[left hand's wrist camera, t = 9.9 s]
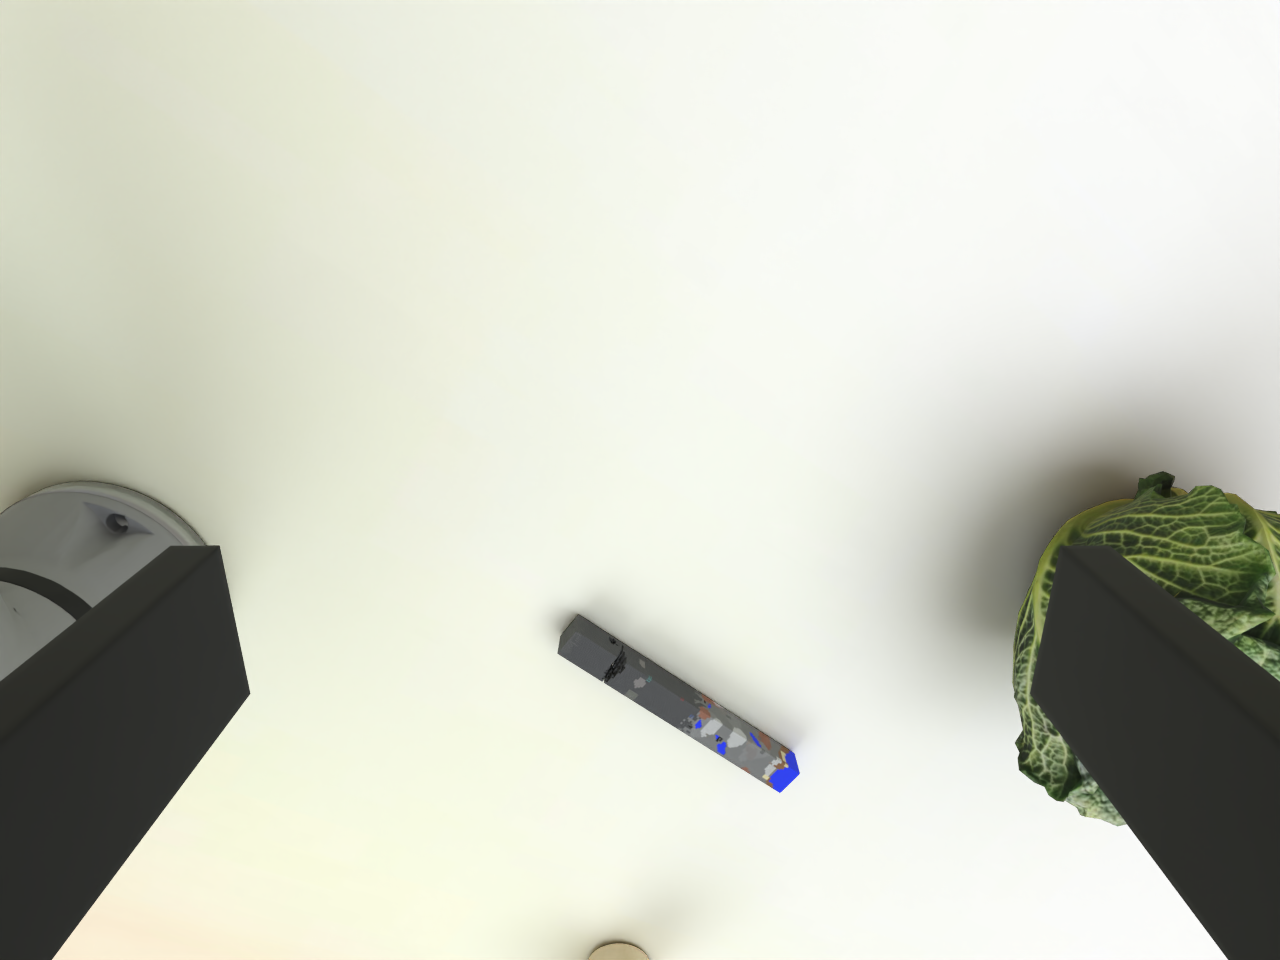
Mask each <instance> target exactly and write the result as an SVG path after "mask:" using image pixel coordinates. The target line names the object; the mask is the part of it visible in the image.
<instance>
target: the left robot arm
mask: <svg viewBox="0 0 1280 960" xmlns="http://www.w3.org/2000/svg"><path fill="white" fill-rule="evenodd" d="M249 695H250V690H249V685H248V680H247V676H246V671H245V666H244V661H243V656H242V652H241V647H240V642H239V637H238V632H237V627H236V623H235V618H234V613H233V608H232V603H231V599H230V594H229V589H228V584H227V579H226V574H225V570H224V565H223V560H222V555H221V550H220V546H206V545H205V544H204V543H203V541H202V540H201V539H200V537H199V536H198V535H197V534H196V533H195V532H194V530H193V529H192V528H191V527H190V526H189V525H188V524H187V523H186V522H184V521H183V520H182V519H181V518H180V517H179V516H177V515H176V514H175V513H173V512H172V511H171V510H169V509H168V508H166V507H165V506H163V505H162V504H160V503H158V502H157V501H155V500H153V499H151V498H149V497H147V496H145V495H143V494H140V493H138V492H135V491H133V490H130V489H127V488H124V487H120V486H116V485H112V484H106V483H100V482H87V481H85V482H69V483H62V484H58V485H53V486H50V487H47V488H44V489H42V490H40V491H38V492H36V493H34V494H32V495H30V496H28V497H26V498H24V499H22V500H20V501H18V502H17V503H15V504H13V505H12V506H10V507H9V508H7V509H6V510H5V511H3V512H2V513H1V514H0V960H52V959H53V957H54V956H55V955H56V953H57V952H58V951H59V949H60V948H61V947H62V945H63V944H64V943H65V941H66V940H67V939H68V937H69V936H70V935H71V933H72V932H73V931H74V929H75V928H76V927H77V925H78V924H79V923H80V921H81V920H82V919H83V917H84V916H85V914H86V913H87V912H88V910H89V909H90V908H91V906H92V905H93V904H94V902H95V901H96V900H97V898H98V897H99V896H100V894H101V893H102V892H103V890H104V889H105V888H106V886H107V885H108V884H109V882H110V881H111V880H112V878H113V877H114V876H115V874H116V873H117V872H118V870H119V869H120V868H121V866H122V865H123V864H124V862H125V861H126V860H127V858H128V857H129V856H130V854H131V853H132V851H133V850H134V849H135V847H136V846H137V845H138V843H139V842H140V841H141V839H142V838H143V837H144V835H145V834H146V833H147V831H148V830H149V829H150V827H151V826H152V825H153V823H154V822H155V821H156V819H157V818H158V817H159V815H160V814H161V813H162V811H163V810H164V809H165V807H166V806H167V805H168V803H169V802H170V801H171V799H172V798H173V797H174V795H175V794H176V793H177V791H178V790H179V789H180V787H181V786H182V784H183V783H184V782H185V780H186V779H187V778H188V776H189V775H190V774H191V772H192V771H193V770H194V768H195V767H196V766H197V764H198V763H199V762H200V760H201V759H202V758H203V756H204V755H205V754H206V752H207V751H208V750H209V748H210V747H211V746H212V744H213V743H214V742H215V740H216V739H217V738H218V736H219V735H220V734H221V732H222V731H223V730H224V728H225V727H226V726H227V724H228V723H229V722H230V720H231V719H232V717H233V716H234V715H235V713H236V712H237V711H238V709H239V708H240V707H241V705H242V704H243V703H244V701H245V700H246V699H247V697H248V696H249ZM1030 695H1031V696H1032V697H1033V699H1034V700H1035V701H1036V703H1037V704H1038V705H1039V707H1040V708H1041V709H1042V711H1043V712H1044V713H1045V715H1046V716H1047V717H1048V719H1049V720H1050V722H1051V723H1052V724H1053V726H1054V727H1055V728H1056V730H1057V731H1058V732H1059V734H1060V735H1061V736H1062V738H1063V739H1064V740H1065V742H1066V743H1067V744H1068V746H1069V747H1070V748H1071V750H1072V751H1073V752H1074V754H1075V755H1076V756H1077V758H1078V759H1079V760H1080V762H1081V763H1082V764H1083V766H1084V767H1085V768H1086V770H1087V771H1088V772H1089V774H1090V775H1091V776H1092V778H1093V779H1094V780H1095V782H1096V783H1097V784H1098V786H1099V787H1100V789H1101V790H1102V791H1103V793H1104V794H1105V795H1106V797H1107V798H1108V799H1109V801H1110V802H1111V803H1112V805H1113V806H1114V807H1115V809H1116V810H1117V811H1118V813H1119V814H1120V815H1121V817H1122V818H1123V819H1124V821H1125V822H1126V823H1127V825H1128V826H1129V827H1130V829H1131V830H1132V831H1133V833H1134V834H1135V835H1136V837H1137V838H1138V839H1139V841H1140V842H1141V843H1142V845H1143V846H1144V847H1145V849H1146V850H1147V851H1148V853H1149V854H1150V856H1151V857H1152V858H1153V860H1154V861H1155V862H1156V864H1157V865H1158V866H1159V868H1160V869H1161V870H1162V872H1163V873H1164V874H1165V876H1166V877H1167V878H1168V880H1169V881H1170V882H1171V884H1172V885H1173V886H1174V888H1175V889H1176V890H1177V892H1178V893H1179V894H1180V896H1181V897H1182V898H1183V900H1184V901H1185V902H1186V904H1187V905H1188V906H1189V908H1190V909H1191V910H1192V912H1193V913H1194V914H1195V916H1196V917H1197V919H1198V920H1199V921H1200V923H1201V924H1202V925H1203V927H1204V928H1205V929H1206V931H1207V932H1208V933H1209V935H1210V936H1211V937H1212V939H1213V940H1214V941H1215V943H1216V944H1217V945H1218V947H1219V948H1220V949H1221V951H1222V952H1223V953H1224V955H1225V956H1226V957H1227V959H1228V960H1280V681H1279V680H1277V679H1276V678H1275V677H1274V676H1272V675H1271V674H1270V673H1269V672H1267V671H1266V670H1265V669H1264V668H1262V667H1261V666H1260V665H1259V664H1257V663H1256V662H1255V661H1254V660H1252V659H1251V658H1250V657H1249V656H1247V655H1246V654H1245V653H1244V652H1242V651H1241V650H1240V649H1239V648H1237V647H1236V646H1235V645H1234V644H1232V643H1231V642H1230V641H1229V640H1227V639H1226V638H1225V637H1224V636H1222V635H1221V634H1220V633H1219V632H1217V631H1216V630H1215V629H1213V628H1212V627H1211V626H1210V625H1208V624H1207V623H1206V622H1205V621H1203V620H1202V619H1201V618H1200V617H1198V616H1197V615H1196V614H1195V613H1193V612H1192V611H1191V610H1190V609H1188V608H1187V607H1186V606H1185V605H1183V604H1182V603H1181V602H1180V601H1178V600H1177V599H1176V598H1175V597H1173V596H1172V595H1171V594H1170V593H1168V592H1167V591H1166V590H1165V589H1163V588H1162V587H1161V586H1160V585H1158V584H1157V583H1156V582H1155V581H1153V580H1152V579H1151V578H1150V577H1148V576H1147V575H1146V574H1144V573H1143V572H1142V571H1141V570H1139V569H1138V568H1137V567H1136V566H1134V565H1133V564H1132V563H1131V562H1129V561H1128V560H1127V559H1126V558H1124V557H1123V556H1122V555H1121V554H1119V553H1118V552H1117V551H1116V550H1114V549H1113V548H1112V547H1111V546H1060V550H1059V555H1058V560H1057V565H1056V570H1055V574H1054V579H1053V584H1052V589H1051V594H1050V599H1049V603H1048V608H1047V613H1046V618H1045V623H1044V627H1043V632H1042V637H1041V642H1040V647H1039V652H1038V656H1037V661H1036V666H1035V671H1034V676H1033V680H1032V685H1031V690H1030Z"/></svg>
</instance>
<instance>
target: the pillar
mask: <svg viewBox="0 0 1280 960" xmlns="http://www.w3.org/2000/svg"><path fill="white" fill-rule="evenodd" d="M558 654H559V655H561V656H562V657H564V658H565V659H567V660H569V661H570V662H572V663H573V664H575V665H577V666H578V667H580V668H581V669H583V670H585V671H586V672H588V673H589V674H591V675H593V676H594V677H596V678H597V679H599V680H601V681H603V680H604V683H605V684H607V685H609V686H610V687H612V688H613V689H615V690H617V691H618V692H620V693H621V694H623V695H625V696H626V697H628V698H629V699H631V700H632V701H634V702H636V703H637V704H639V705H640V706H642V707H644V708H645V709H647V710H648V711H650V712H652V713H653V714H655V715H656V716H658V717H660V718H661V719H663V720H664V721H666V722H668V723H669V724H671V725H672V726H674V727H676V728H677V729H679V730H680V731H682V732H684V733H685V734H687V735H688V736H690V737H692V738H693V739H695V740H696V741H698V742H700V743H701V744H703V745H704V746H706V747H708V748H709V749H711V750H712V751H714V752H716V753H717V754H719V755H720V756H722V757H724V758H725V759H727V760H728V761H730V762H731V763H733V764H735V765H736V766H738V767H739V768H741V769H743V770H744V771H746V772H747V773H749V774H751V775H752V776H754V777H755V778H757V779H759V780H760V781H762V782H763V783H765V784H767V785H768V786H770V787H771V788H773V789H775V790H776V791H778V792H779V793H780V792H782V791H783V790H784V789H785V788H786V787H787V786H788V785H789V784H790V783H791V782H792V781H793V780H794V779H795V778H796V777H797V776H798V775H799V774H800V773H799V769H798V765H797V761H796V758H795V754H794V753H793V752H792V751H790V750H788V749H787V748H785V747H784V746H782V745H781V744H779V743H778V742H776V741H774V740H773V739H771V738H770V737H768V736H767V735H765V734H764V733H762V732H760V731H759V730H757V729H756V728H754V727H753V726H751V725H750V724H748V723H746V722H745V721H743V720H742V719H740V718H739V717H737V716H736V715H734V714H732V713H731V712H729V711H728V710H726V709H725V708H723V707H722V706H720V705H719V704H717V703H715V702H714V701H712V700H711V699H709V698H708V697H706V696H705V695H703V694H701V693H700V692H698V691H697V690H695V689H694V688H692V687H691V686H689V685H687V684H686V683H684V682H683V681H681V680H680V679H678V678H677V677H675V676H673V675H672V674H670V673H669V672H667V671H666V670H664V669H663V668H661V667H659V666H658V665H656V664H655V663H653V662H652V661H650V660H649V659H647V658H645V657H644V656H642V655H641V654H639V653H638V652H636V651H635V650H633V649H631V648H630V647H628V646H627V645H625V644H624V643H622V642H621V641H619V640H617V639H616V638H614V637H613V636H611V635H610V634H608V633H607V632H605V631H603V630H602V629H600V628H599V627H597V626H596V625H594V624H593V623H591V622H589V621H588V620H586V619H585V618H583V617H582V616H580V615H579V614H578V616H577V617H576V618H575V619H574V620H573V622H572V623H571V624H570V625H569V626H568V628H567V629H566V630H565V631H564V633H563V634H562V635H561V636H560V642H559V648H558ZM613 662H614V665H613V666H612V663H613Z"/></svg>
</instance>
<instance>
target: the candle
mask: <svg viewBox="0 0 1280 960" xmlns="http://www.w3.org/2000/svg"><path fill="white" fill-rule="evenodd" d="M588 960H649V958H648V956H647V955H646V954H645V953H644V952H643V951H642V950H640V949H639V948H637V947H635V946H632V945H628V944H622V943H616V944H609V945H605V946H603V947H600V948H598V949H597V950H596V951H594V952H593V953H592V954H591V956H590V957H589V959H588Z"/></svg>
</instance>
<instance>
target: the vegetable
mask: <svg viewBox="0 0 1280 960" xmlns="http://www.w3.org/2000/svg"><path fill="white" fill-rule="evenodd" d="M1174 479H1175V476H1173V475H1171V474H1169V473H1166V472H1163V471H1162V472H1159V473H1156V474H1153V475H1149V476H1148V477H1147V478H1146V479H1143V478H1139V483H1138V492H1137V494H1136V496H1135V499H1119V500H1114V501H1108V502H1105V503H1103V504H1100V505H1098V506H1095V507H1093V508H1090V509H1088V510H1085V511H1083V512H1081V513H1080V514H1078V515H1076V516H1074V517H1073V518H1071V519H1069V520H1068V521H1067V522H1066V523H1065V524H1064V525H1063V526H1062V527H1061V528H1060V529H1059V531H1058V532H1057V533H1056V535H1055V536H1054V537H1053V539H1052V540H1051V541H1050V543H1049V544H1048V546H1047V548H1046V549H1045V551H1044V553H1043V555H1042V556H1041V558H1040V560H1039V564H1038V568H1037V572H1036V574H1035V577H1034V580H1033V582H1032V585H1031V586H1030V588H1029V590H1028V592H1027V596H1026V598H1025V600H1024V603H1023V605H1022V607H1021V609H1020V611H1019V614H1018V621H1017V627H1016V633H1015V639H1014V646H1013V681H1012V683H1013V687H1014V691H1015V693H1014V698H1015V700H1016V702H1017V704H1018V707H1019V712H1020V717H1021V722H1022V727H1023V731H1022V732H1021V734H1020V735H1019V737H1018V739H1017V740H1016V742H1015V744H1016V746H1017V748H1018V750H1019V752H1020V753H1019V756H1018V765H1019V770H1020V771H1021V772H1022V773H1023V774H1025V775H1026V776H1027V777H1028V778H1030V779H1031V780H1032V781H1033V782H1035V783H1037V784H1039V785H1042V786H1044V787H1045V789H1046V791H1047V793H1048V795H1049V796H1050V797H1052V798H1053V799H1055V800H1056V801H1062V802H1064V801H1067V802H1068V803H1070V804H1072V805H1073V806H1075V807H1076V808H1077V809H1078V811H1079V813H1080V815H1082V816H1085V817H1091V818H1097V819H1102V820H1104V821H1106V822H1108V823H1111V824H1113V825H1116V826H1121V825H1125V824H1127V823H1126V822H1125V821H1124V819H1123V818H1122V817H1121V815H1120V814H1119V813H1118V811H1117V810H1116V809H1115V807H1114V806H1113V805H1112V803H1111V802H1110V801H1109V799H1108V798H1107V797H1106V795H1105V794H1104V793H1103V791H1102V790H1101V789H1100V787H1099V786H1098V784H1097V783H1096V782H1095V780H1094V779H1093V778H1092V776H1091V775H1090V774H1089V772H1088V771H1087V770H1086V768H1085V767H1084V766H1083V764H1082V763H1081V762H1080V760H1079V759H1078V758H1077V756H1076V755H1075V754H1074V752H1073V751H1072V750H1071V748H1070V747H1069V746H1068V744H1067V743H1066V742H1065V740H1064V739H1063V738H1062V736H1061V735H1060V734H1059V732H1058V731H1057V730H1056V728H1055V727H1054V726H1053V724H1052V723H1051V722H1050V720H1049V719H1048V717H1047V716H1046V715H1045V713H1044V712H1043V711H1042V709H1041V708H1040V707H1039V705H1038V704H1037V703H1036V701H1035V700H1034V699H1033V697H1032V696H1031V695H1030V690H1031V685H1032V680H1033V676H1034V671H1035V666H1036V661H1037V656H1038V652H1039V647H1040V642H1041V637H1042V632H1043V627H1044V623H1045V618H1046V613H1047V608H1048V603H1049V599H1050V594H1051V589H1052V584H1053V579H1054V574H1055V570H1056V565H1057V560H1058V555H1059V550H1060V546H1111V547H1112V548H1113V549H1114V550H1116V551H1117V552H1118V553H1119V554H1121V555H1122V556H1123V557H1124V558H1126V559H1127V560H1128V561H1129V562H1131V563H1132V564H1133V565H1134V566H1136V567H1137V568H1138V569H1139V570H1141V571H1142V572H1143V573H1144V574H1146V575H1147V576H1148V577H1150V578H1151V579H1152V580H1153V581H1155V582H1156V583H1157V584H1158V585H1160V586H1161V587H1162V588H1163V589H1165V590H1166V591H1167V592H1168V593H1170V594H1171V595H1172V596H1173V597H1175V598H1176V599H1177V600H1178V601H1180V602H1181V603H1182V604H1183V605H1185V606H1186V607H1187V608H1188V609H1190V610H1191V611H1192V612H1193V613H1195V614H1196V615H1197V616H1198V617H1200V618H1201V619H1202V620H1203V621H1205V622H1206V623H1207V624H1208V625H1210V626H1211V627H1212V628H1213V629H1215V630H1216V631H1217V632H1219V633H1220V634H1221V635H1222V636H1224V637H1225V638H1226V639H1227V640H1229V641H1230V642H1231V643H1232V644H1234V645H1235V646H1236V647H1237V648H1239V649H1240V650H1241V651H1242V652H1244V653H1245V654H1246V655H1247V656H1249V657H1250V658H1251V659H1252V660H1254V661H1255V662H1256V663H1257V664H1259V665H1260V666H1261V667H1262V668H1264V669H1265V670H1266V671H1267V672H1269V673H1270V674H1271V675H1272V676H1274V677H1275V678H1276V679H1277V680H1279V681H1280V514H1277V512H1276V511H1263V510H1257V509H1254V508H1253V507H1251V506H1250V505H1249V504H1248V503H1246V502H1245V501H1244V500H1242V499H1241V498H1240V497H1238V496H1237V495H1236V494H1231V493H1223V492H1222V490H1221V489H1219V488H1216V487H1214V486H1211V485H1209V486H1195V487H1194V488H1193V489H1192V490H1191V491H1190V492H1189V493H1187V492H1186V491H1184V490H1183V489H1180V488H1176V487H1172V484H1173V482H1174Z"/></svg>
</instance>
